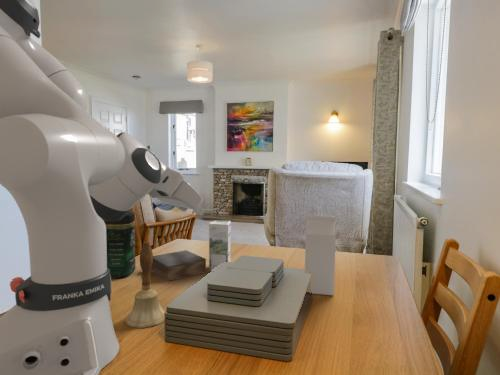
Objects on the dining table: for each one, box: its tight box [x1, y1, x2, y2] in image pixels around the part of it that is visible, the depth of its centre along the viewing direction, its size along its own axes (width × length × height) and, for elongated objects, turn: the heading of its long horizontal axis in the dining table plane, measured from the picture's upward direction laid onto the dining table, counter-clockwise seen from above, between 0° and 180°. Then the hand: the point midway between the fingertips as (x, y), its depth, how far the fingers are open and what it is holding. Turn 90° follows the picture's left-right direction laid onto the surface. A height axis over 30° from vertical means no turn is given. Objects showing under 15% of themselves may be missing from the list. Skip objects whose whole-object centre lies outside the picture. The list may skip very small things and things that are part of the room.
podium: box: [150, 249, 207, 282], centre depth 102 cm, size 12×12×4 cm
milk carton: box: [304, 214, 337, 296], centre depth 88 cm, size 7×7×19 cm
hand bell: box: [125, 241, 166, 329], centre depth 71 cm, size 8×8×16 cm
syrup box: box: [208, 220, 232, 272], centre depth 104 cm, size 6×6×14 cm
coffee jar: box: [104, 209, 137, 279], centre depth 99 cm, size 10×8×19 cm
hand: (193, 211), depth 100 cm, fingers open, 8 cm apart
